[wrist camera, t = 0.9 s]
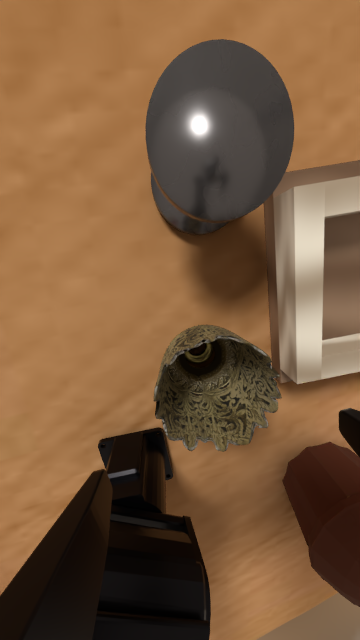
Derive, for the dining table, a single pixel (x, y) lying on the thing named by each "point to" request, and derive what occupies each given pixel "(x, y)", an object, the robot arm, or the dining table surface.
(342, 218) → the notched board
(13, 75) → the dining table surface
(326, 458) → the muffin
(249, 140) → the bobbin
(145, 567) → the robot arm
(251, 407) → the cup
